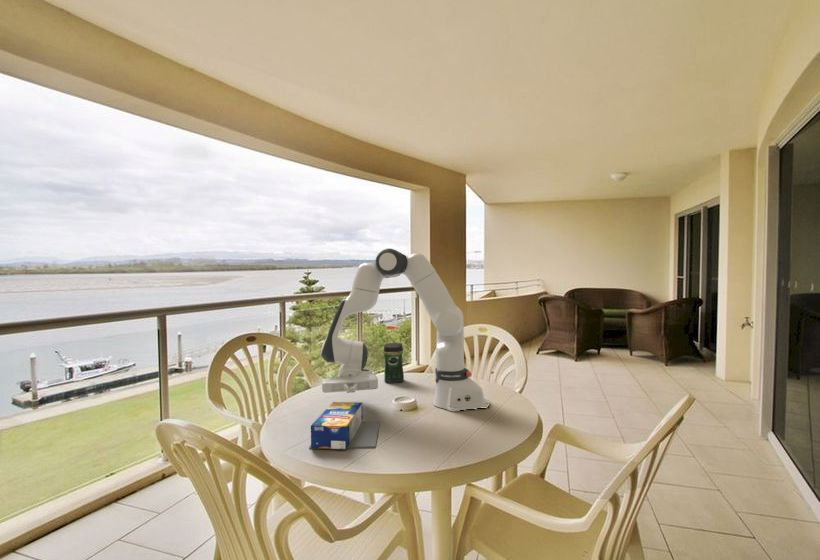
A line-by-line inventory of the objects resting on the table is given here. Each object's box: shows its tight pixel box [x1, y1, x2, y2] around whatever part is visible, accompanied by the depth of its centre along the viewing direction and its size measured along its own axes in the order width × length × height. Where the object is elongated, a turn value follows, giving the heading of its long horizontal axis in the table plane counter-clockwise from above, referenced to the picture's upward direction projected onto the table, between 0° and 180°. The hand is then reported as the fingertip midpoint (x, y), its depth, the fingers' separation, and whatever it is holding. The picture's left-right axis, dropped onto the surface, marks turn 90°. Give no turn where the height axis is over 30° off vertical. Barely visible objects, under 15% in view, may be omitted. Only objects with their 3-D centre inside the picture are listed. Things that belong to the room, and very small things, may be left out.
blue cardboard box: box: [310, 401, 364, 450], centre depth 126 cm, size 7×11×22 cm
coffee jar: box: [383, 342, 405, 384], centre depth 185 cm, size 10×8×19 cm
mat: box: [309, 420, 381, 450], centre depth 126 cm, size 20×19×1 cm
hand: (350, 390), depth 134 cm, fingers closed
